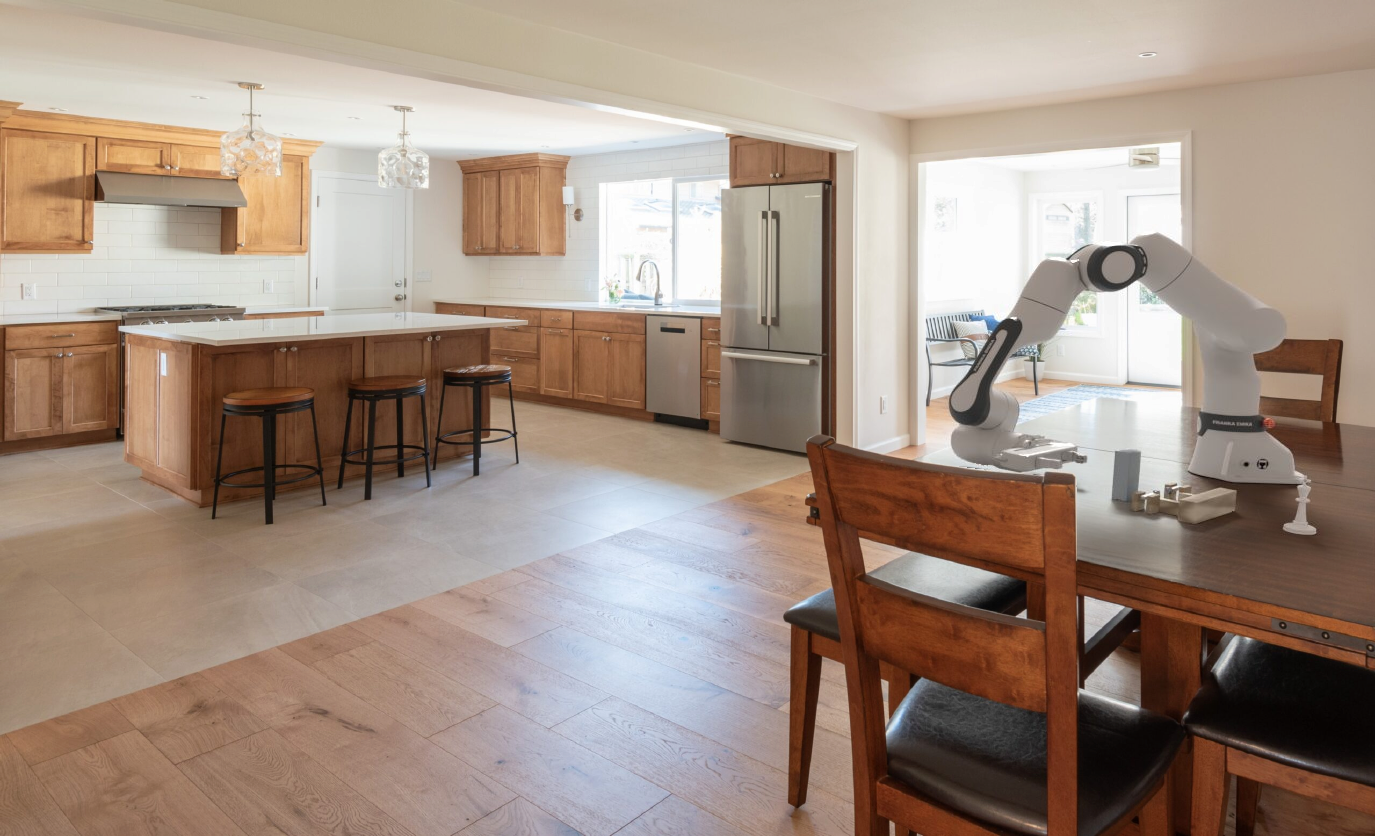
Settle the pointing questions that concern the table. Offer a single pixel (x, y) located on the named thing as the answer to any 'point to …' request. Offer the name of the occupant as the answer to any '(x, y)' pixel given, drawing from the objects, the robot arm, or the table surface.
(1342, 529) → the table surface
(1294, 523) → the chess piece
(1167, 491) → the plunger
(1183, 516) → the light wooden frame
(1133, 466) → the peg
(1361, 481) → the table surface
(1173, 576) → the table surface
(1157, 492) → the plunger
